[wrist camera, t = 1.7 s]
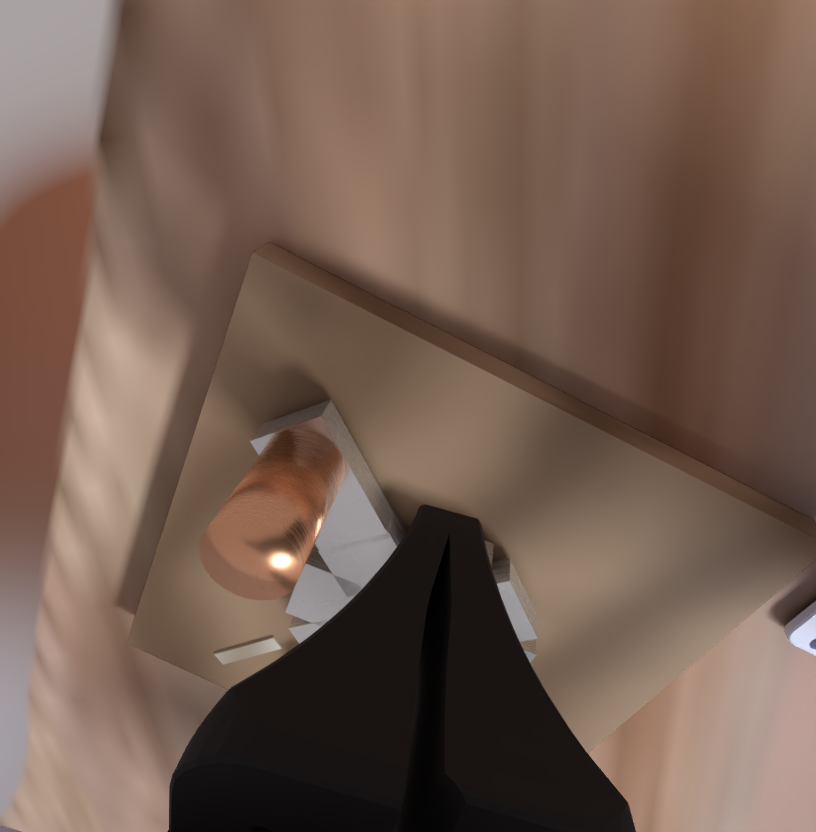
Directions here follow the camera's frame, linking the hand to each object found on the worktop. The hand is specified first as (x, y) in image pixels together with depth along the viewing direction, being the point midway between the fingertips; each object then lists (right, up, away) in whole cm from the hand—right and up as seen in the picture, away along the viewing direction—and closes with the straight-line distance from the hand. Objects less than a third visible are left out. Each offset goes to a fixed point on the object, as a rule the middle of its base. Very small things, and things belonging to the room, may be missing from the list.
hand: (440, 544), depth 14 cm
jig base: (0, -3, +9) cm, 9 cm away
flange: (-1, -2, +7) cm, 7 cm away
